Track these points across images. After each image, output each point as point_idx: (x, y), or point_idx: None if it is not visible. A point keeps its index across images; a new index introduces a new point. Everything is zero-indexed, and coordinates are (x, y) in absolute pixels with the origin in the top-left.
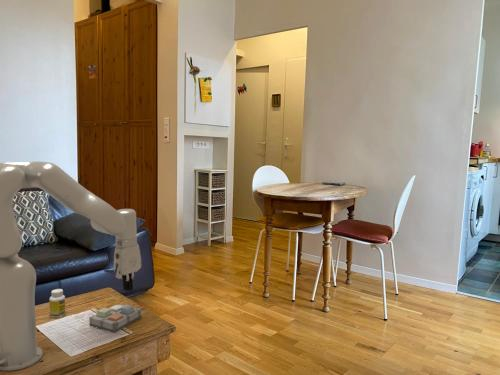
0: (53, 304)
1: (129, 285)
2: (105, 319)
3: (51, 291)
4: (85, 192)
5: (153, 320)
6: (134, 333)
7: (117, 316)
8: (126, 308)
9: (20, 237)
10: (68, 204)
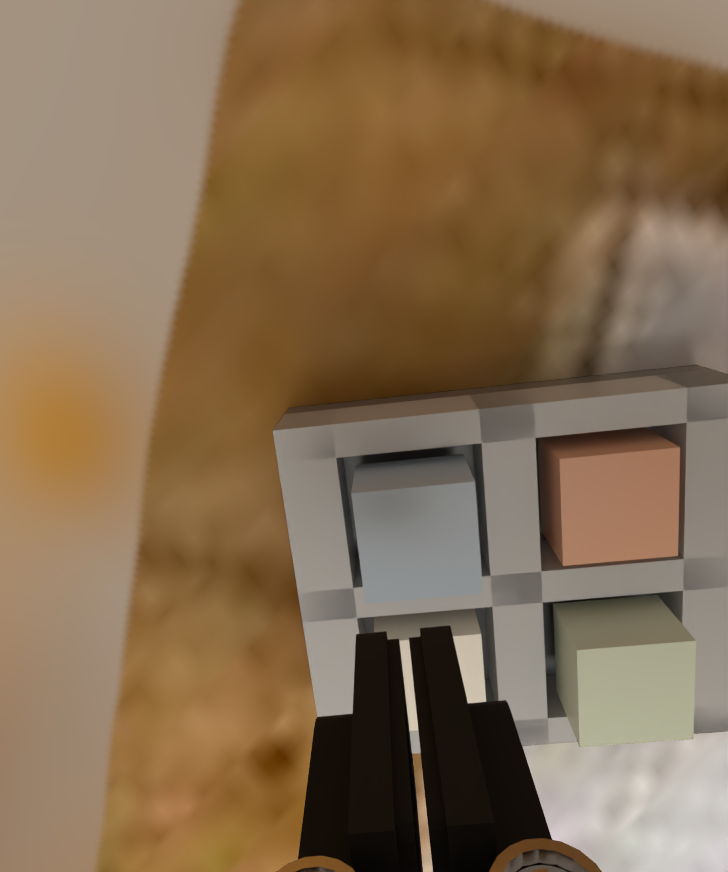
0: None
1: (466, 715)
2: (696, 561)
3: None
4: None
5: (258, 240)
6: (603, 173)
7: (614, 484)
8: (458, 516)
9: None
10: None
